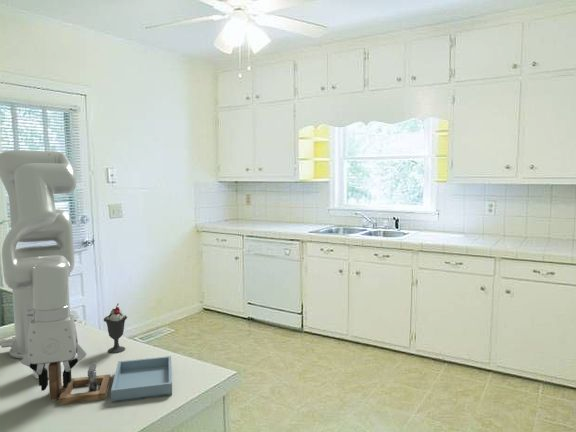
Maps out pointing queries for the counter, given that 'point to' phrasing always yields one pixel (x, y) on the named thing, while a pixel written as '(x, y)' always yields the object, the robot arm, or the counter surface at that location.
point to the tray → (142, 379)
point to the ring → (65, 393)
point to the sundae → (116, 328)
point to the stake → (92, 377)
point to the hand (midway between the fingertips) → (55, 385)
